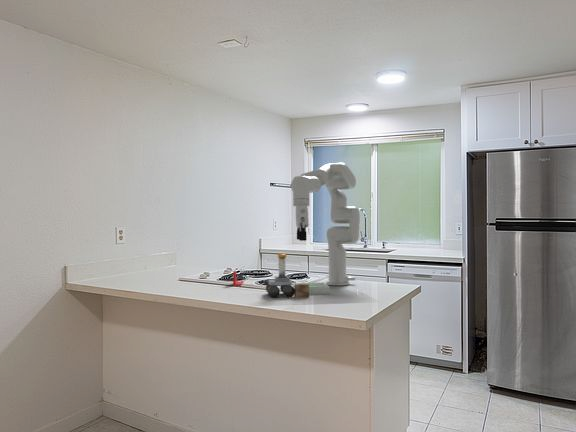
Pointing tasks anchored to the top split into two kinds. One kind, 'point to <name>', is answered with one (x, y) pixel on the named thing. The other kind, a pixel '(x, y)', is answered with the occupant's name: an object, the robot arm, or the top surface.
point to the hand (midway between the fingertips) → (301, 240)
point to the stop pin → (282, 265)
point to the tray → (317, 288)
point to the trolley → (285, 287)
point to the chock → (301, 290)
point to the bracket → (235, 282)
